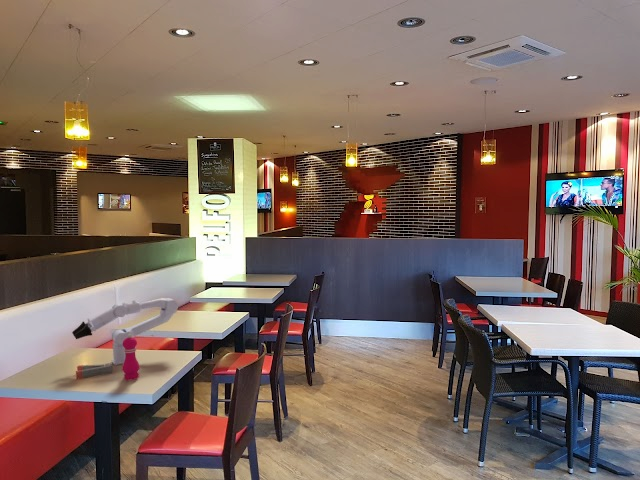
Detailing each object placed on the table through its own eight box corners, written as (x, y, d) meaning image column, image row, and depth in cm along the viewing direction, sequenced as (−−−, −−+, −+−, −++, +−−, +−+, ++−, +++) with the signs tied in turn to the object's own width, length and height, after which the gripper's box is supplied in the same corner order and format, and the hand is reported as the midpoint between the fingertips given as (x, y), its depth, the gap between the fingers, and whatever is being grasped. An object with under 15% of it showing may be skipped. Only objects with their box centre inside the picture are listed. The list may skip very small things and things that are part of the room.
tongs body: (111, 369, 233) (111, 362, 233) (113, 372, 229) (113, 365, 229) (75, 376, 225) (74, 369, 225) (76, 379, 221) (76, 372, 221)
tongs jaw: (104, 370, 232) (104, 364, 232) (103, 371, 230) (102, 365, 230) (79, 371, 231) (78, 365, 231) (77, 372, 230) (77, 366, 230)
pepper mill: (143, 375, 224) (141, 332, 222) (132, 381, 217) (130, 336, 216) (130, 374, 226) (128, 331, 225) (119, 379, 219) (117, 335, 218)
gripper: (95, 311, 245) (67, 326, 238) (99, 315, 232) (71, 331, 226) (102, 323, 247) (75, 338, 240) (107, 328, 234) (79, 344, 228)
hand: (74, 335), depth 233 cm, fingers open, 7 cm apart
